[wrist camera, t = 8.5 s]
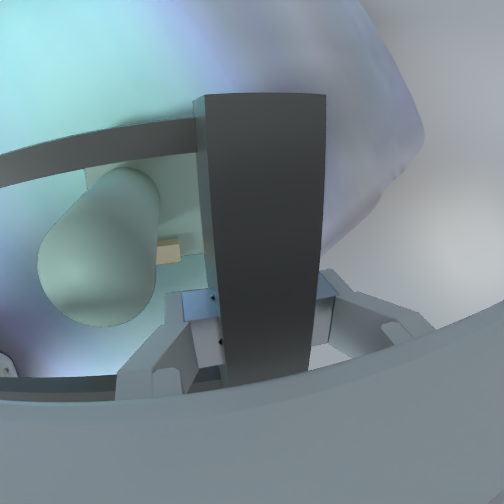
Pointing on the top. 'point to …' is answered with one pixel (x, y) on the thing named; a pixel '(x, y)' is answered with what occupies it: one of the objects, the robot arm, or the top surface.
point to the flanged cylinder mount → (121, 238)
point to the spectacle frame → (221, 226)
